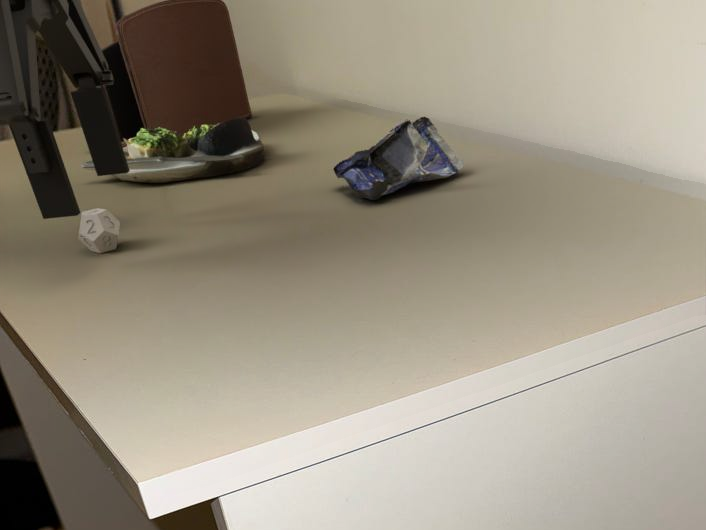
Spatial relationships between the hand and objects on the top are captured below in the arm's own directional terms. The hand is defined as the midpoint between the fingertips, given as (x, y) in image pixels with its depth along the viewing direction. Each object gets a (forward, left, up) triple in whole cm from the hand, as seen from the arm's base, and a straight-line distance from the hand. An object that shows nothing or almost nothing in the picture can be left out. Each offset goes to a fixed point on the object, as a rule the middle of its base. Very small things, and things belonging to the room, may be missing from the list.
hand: (89, 194), depth 77 cm
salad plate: (+1, +30, -5) cm, 30 cm away
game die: (0, 0, -5) cm, 5 cm away
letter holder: (-6, +50, -5) cm, 51 cm away
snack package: (+25, +12, -5) cm, 28 cm away
